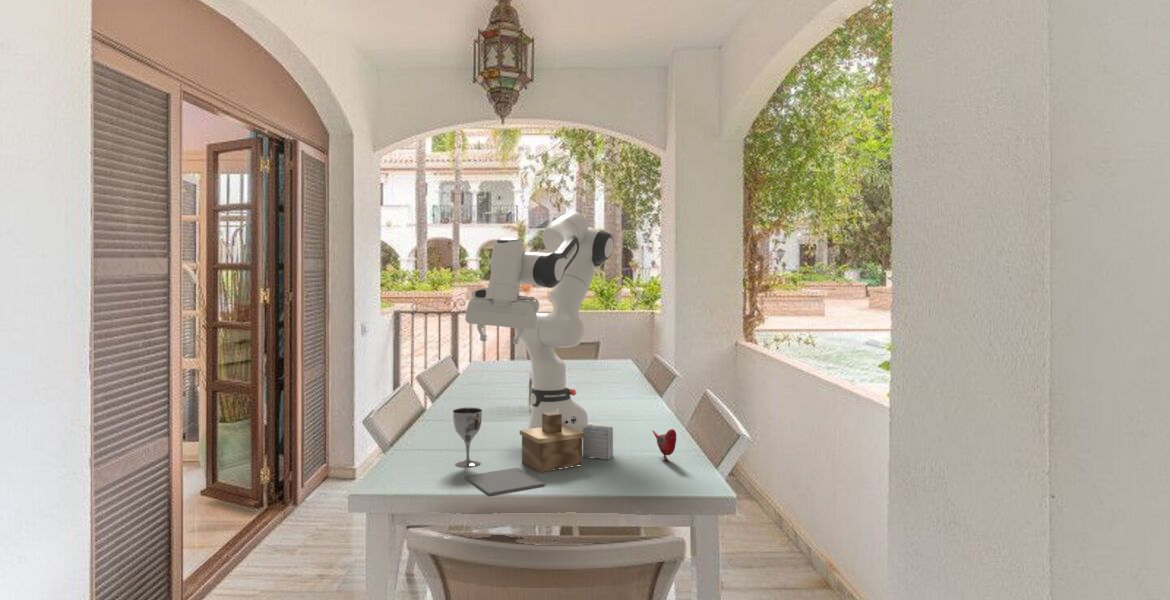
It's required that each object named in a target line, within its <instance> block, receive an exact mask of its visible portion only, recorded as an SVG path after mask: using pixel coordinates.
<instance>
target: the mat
mask: <svg viewBox="0 0 1170 600" xmlns="http://www.w3.org/2000/svg"><path fill="white" fill-rule="evenodd" d="M464 479H466V480H467V481H468V482H470V483H471V484H472V485H474V486H475V487H476V488H477V489H479V490H481V491H482V492H484V493H485V494H486V495H488V496H493V495H499V494H506V493H511V492H517V491H523V490H528V488H529V489H534V488H533V487H535V488H539V487H538V486H540V487H544V485H545V482H543V481H541V480H539V479H538V478H536V477H534V476H532V475H531V474H529V473H528V472H526V471H524V470H522V469H520V468H519V467H512V468H505V469H501V470H500V469H499V470H494V471H486V472H481V473H475V474H467V475H464ZM545 486H546V485H545Z"/></svg>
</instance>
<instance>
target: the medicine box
mask: <svg viewBox="0 0 1170 600" xmlns="http://www.w3.org/2000/svg"><path fill="white" fill-rule="evenodd" d="M593 425H594V424H593ZM593 425H588V426H586V427H584V428H583V432H584V433H585V437H583V438H582V458H584V457H593V458H592V459H596V458H601V459H600V460H607V459H609V460H610V459H611V458H612V457H613V456H614V427H613V426H605V425H594V426H593Z"/></svg>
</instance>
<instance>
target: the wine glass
mask: <svg viewBox="0 0 1170 600" xmlns="http://www.w3.org/2000/svg"><path fill="white" fill-rule="evenodd" d="M452 421H453V426H454V431H455V432H456V433H457V435H458V436H459V438H461V439H462V441H463V442H464V445H465V451H466V452H465V454H466V457H465V460H460V461H457V462H455V463H454V466H455V467H458V468H463V469H464V468H476V467H478V466H480V465H481V464H482V463H481V461H478V460H474V459H473V460H471V459H470V448H471V443H472V441H473V439H474V438H475V437H476V435H477V434H478V433H479V432H480V430H481V425H482V421H483V410H482V408H479V407H460V408H455V409H453V410H452Z"/></svg>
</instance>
